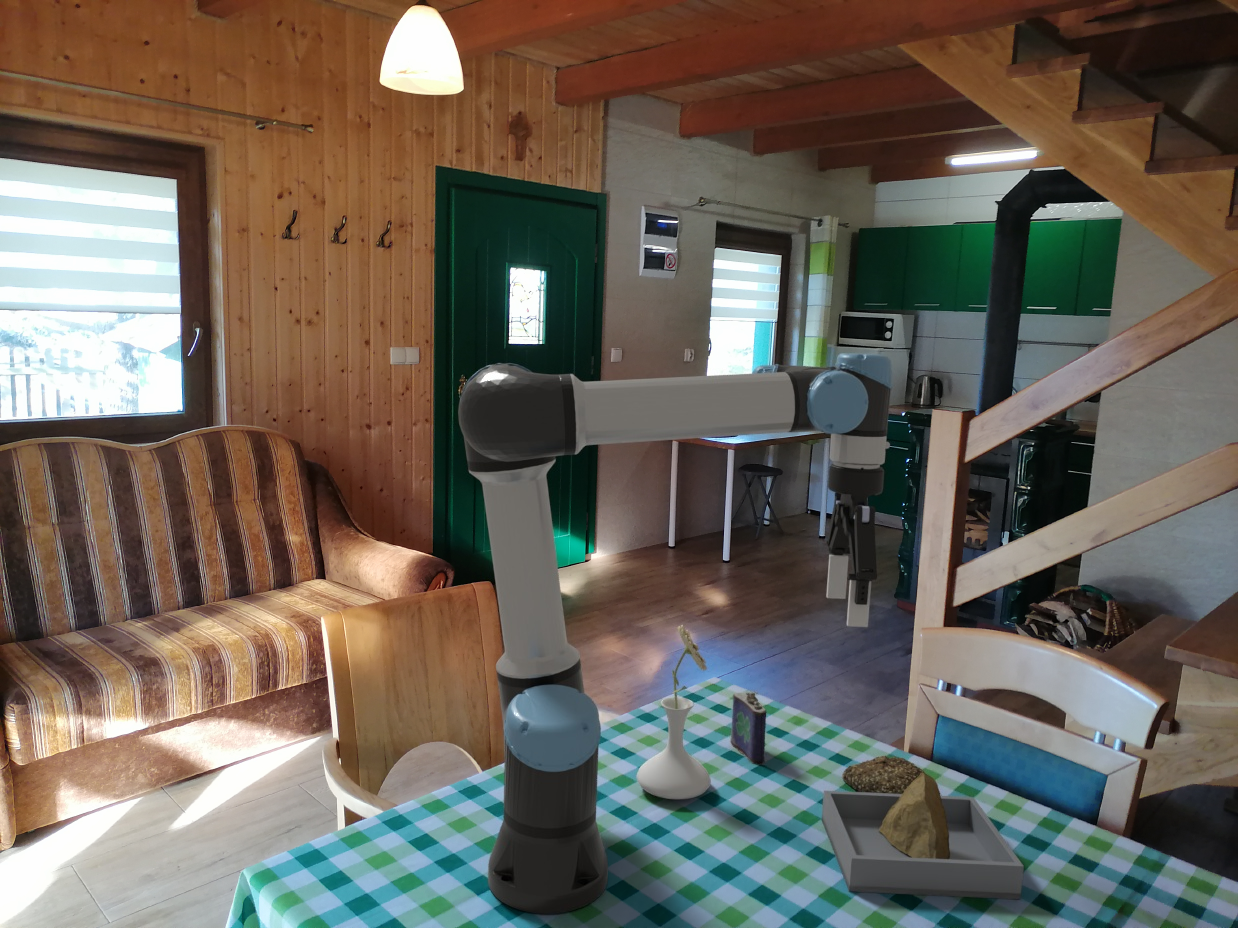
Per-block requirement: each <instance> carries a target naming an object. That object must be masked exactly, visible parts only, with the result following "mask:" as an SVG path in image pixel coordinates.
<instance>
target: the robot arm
mask: <svg viewBox="0 0 1238 928" xmlns="http://www.w3.org/2000/svg"><path fill="white" fill-rule="evenodd" d="M892 366H893V365H892V360H891V359H890V358H889V357H888V356H887V355H885V354H878V353H877V354H876V353H875V354H874V353H873V354H871V353H853V352H852V353H851V352H850V353H848V352H847V353H846V352H845V353H844V352H842V353H839V354H838V355H837V358H836V363H835V364H834V366H826V367H823V366H810V365H809V366H807V365H785V364H778V363H776V364H760V365H758V366H756V367H755V368H754V369H753V371H752V372H751V373H738V374H736V373H735V374H719V375H715V374H714V375H699V376H698V375H697V376H679V377H674V376H673V377H658V378H656V377H655V378H654V377H653V378H640V379H639V378H636V379H634V378H633V379H617V380H616V379H615V380H614V379H613V380H597V381H596V380H594V381H582V380H580V379H579V378H578V377H577V376H575V375H574V374H573V373H564V374H561V373H560V374H547V373H538V372H532V371H531V370H530V369H528V368H526V367H525V366H522V365H519V364H516V363H511V362H509V363H507V362H506V363H502V362H497V363H495V364H489V365H486V366H484V367H482V368H480V369H478V371H476V372H475V373H474V374H472V376H470V377H469V378H468V379H467V381H466V383H465V385H464V386H463V389H462V391H461V394H460V397H459V403H458V410H457V412H458V413H457V414H458V424H459V427H460V430H461V433H462V435H463V440H464V447H465V454H466V455H465V456H466V460H467V461H466V462H467V467H468V468H467V469H468V472H469V474H471V475H472V476H473V477H475V478H476V479H477V480H479V481H480V483H481V485H482V493H483V499H484V509H485V514H486V522H487V528H488V537H489V544H490V551H491V558H492V565H493V566H492V567H493V573H494V580H495V588H496V595H497V603H498V610H499V617H500V625H501V632H502V639H503V645H504V646H503V647H504V653H503V654H502V655H501V657H500V658H498V661H496V664H495V669H496V670H495V671H496V677H497V684H498V693H499V700H500V709H501V714H502V715H501V716H502V725H503V726H502V727H503V729H502V730H503V751H504V771H503V772H504V776H503V777H504V779H503V781H504V782H503V819H502V823H501V827H500V829H499V832H498V834H497V837H496V839H495V842H494V845H493V848H492V851H491V853H490V856H489V859H488V868H487V883H488V888H489V889H490V891H491V893H492V894H493V895H494V896H495V897H496V898H497V899H498V900H499V901H501V902H502V903H504V904H505V905H507V906H508V907H511V908H514V909H516V910H519V911H523V912H526V913H533V914H545V915H546V914H561V913H568V912H572V911H575V910H578V909H581V908H584V907H585V906H588V905H590V904H591V903H593V902H594V901H595V900H597V899H598V898H599V897H600V896H601V895H602V893H604V891H605V889H606V887H607V884H608V876H609V875H608V873H609V864H608V863H609V862H608V856H607V853H606V850H605V847H604V844H603V841H602V837H601V833H600V830H599V827H598V823H597V804H598V802H597V798H598V771H599V745H600V740H601V734H602V728H601V722H600V714H599V709H598V707H597V704H596V703H595V702H594V700H593V699H592V698H591V697H590V696H589V695H587V693H585V686H584V677H583V669H582V663H581V657H580V656H581V655H580V651H579V650H578V649H577V648H575V647H574V646H573V645H572V644H570V643H569V642H568V640H567V639H568V638H567V632H566V623H565V616H564V615H565V614H564V607H563V600H562V599H563V598H562V592H561V583H560V576H559V575H560V574H559V568H558V560H557V559H558V558H557V551H556V544H555V534H554V527H553V521H552V520H553V519H552V511H551V505H550V504H551V503H550V496H549V487H548V486H549V485H548V479H547V474H548V472H549V471H550V469H551V468H552V467H553V465H555V463H556V457H558V456H567V455H568V456H571V455H572V456H573V455H577V454H579V453H580V452H581V450H583V448H584V447H585V446H593V445H607V444H608V445H609V444H611V445H612V444H623V443H624V444H625V443H639V442H654V441H655V442H656V441H659V442H660V441H670V440H671V441H672V440H687V439H704V438H719V437H721V438H722V437H731V436H732V437H734V436H751V435H753V436H754V435H765V434H781V433H805V432H806V433H807V432H821V433H825V434H826V435H827V434H828V435H830V444H829V446H830V447H829V460H830V461H832V462H833V463H831V464H830V465H829V467H828V479H827V487H828V490H830V491H831V492H833V493H834V502H833V503H834V504H833V508H832V514H831V519H830V523H829V528H828V532H827V533H828V534H827V539H826V546H827V547H828V552H829V555H828V571H827V581H826V582H827V584H826V596H825V597H826V598H827V599H841V600H844V599H845V600H846V599H847V597H846V596H847V584H848V583H847V581H849V585H848V586H849V587H848V599H847V600H848V601H847V611H846V612H847V613H846V614H847V615H846V626H847V627H854V628H855V627H857V628H868V626H869V618H870V605H871V604H870V603H871V591H872V590H871V589H872V582H873V581H876V580H877V579H878V569H877V549H876V547H877V545H876V526H875V525H876V524H875V520H876V511H877V509H876V507H875V506H870V505H869V500H868V498H869V497H870V496H878V495H881V494H882V493H883V490H884V479H885V477H884V476H885V470H884V468H883V467H882V466H881V465H883V464H885V462H886V461H885V460H886V450H887V449H890V446H891V443H890V442H889V441H887V436H888V423H889V422H888V421H889V413H890V402H891V392H892V390H893V385H892V378H893V377H892V376H893V371H892V368H893V367H892ZM848 555H850V564H851V565H850V566H851V573H849V574H848V570H849V569H848V567H849V556H848Z"/></svg>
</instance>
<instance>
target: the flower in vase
mask: <svg viewBox="0 0 1238 928" xmlns="http://www.w3.org/2000/svg"><path fill="white" fill-rule="evenodd" d="M677 631H678V634H679V636H680V638H681V641H682V643H683V645H684V651H683V652H682V654H681V656H680V658H679V660H678V662H677V664H676V667H675V669H672V670H671V674H672V678H673V691H672V692H671V694H674V696H669V697H665V698H663V699H662V700H661V701H660V705H661V706H662V708H663V709H664V711H665V714H666V717H667V724H668V726H667V727H668V738H667V744H666V746H665V748H664V749H663V750H662V751H661V752H659V753H657V754H656V755H654V756H652V757H651V758H649V759H647V760H646V761H645V762H644V763H643V764H642V765H641V766H640V767H639V769H638V770H637V773H636V781H637V784H639V786H640V787H641V789H643V790H644V791H645V792H647V793H649V794H651V795H653V796H656V797H658V798H663V799H668V800H688V799H692V798H696V797H699V796H701V795H703V794H704V793H705V792H707V790H708V789H709V788H710V786H711V784H712V780H711V776H710V773H709V772H708V770H707V769H706V768H705V767H704V766H703V764H702V763H700V761H698V760H697V759H696V758H695V757H693V756H692V755H690V754H689V753H688V752H687V750H686V749H685V747H684V729H685V725H686V724H685V723H686V719H687V717H688V714H689V713H690V711H691V710H692V709H693V708H694V706H695V704H694V701H692V700H690V699H688V698H687V697H686V698H685V697H681V696H678V694H677V693H678V692H680V691H683V690H687V689H688V687H686V686H685V685H683V686H682V687H681V688H679V689H677V686H678V687H679V686H680V683H679V680H678V678H677V672H678V669H679V667H680V665H681V663H682V661H683V659H684V657H685V656H686V654H687V655H690V657H691V658H692V660H693V661H694V662H695V664H696V665H697V666H698V668H699V669H700V670H701V671H703V672H704V671H707V669H708V667H707V665H706V664H707V663H706V660H705V658H704V657H702V655H701V653H700V652H699V650H700V648H699V646H698V645H697V643H695V642H693V640H692V637H691V634H690V632H689V630H688V629H686V628H685V627H684V625H683V624H681V625H678V627H677Z"/></svg>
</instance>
